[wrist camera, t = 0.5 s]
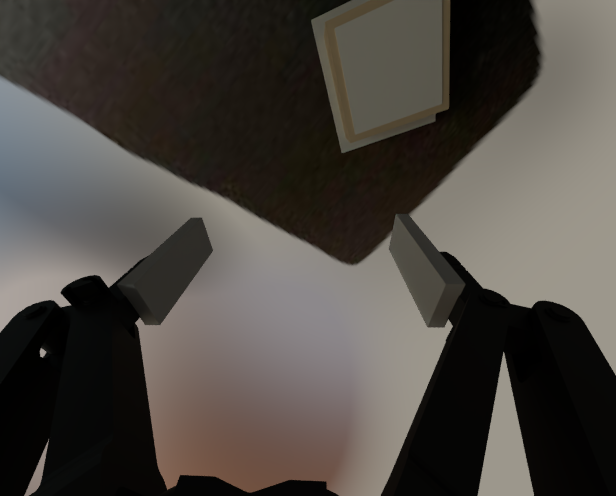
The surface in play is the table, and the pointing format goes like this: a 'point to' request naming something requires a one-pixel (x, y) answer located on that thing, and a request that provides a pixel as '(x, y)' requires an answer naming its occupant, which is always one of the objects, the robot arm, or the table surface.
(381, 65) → the cream stepped pedestal
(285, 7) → the table surface
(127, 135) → the table surface
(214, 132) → the table surface
